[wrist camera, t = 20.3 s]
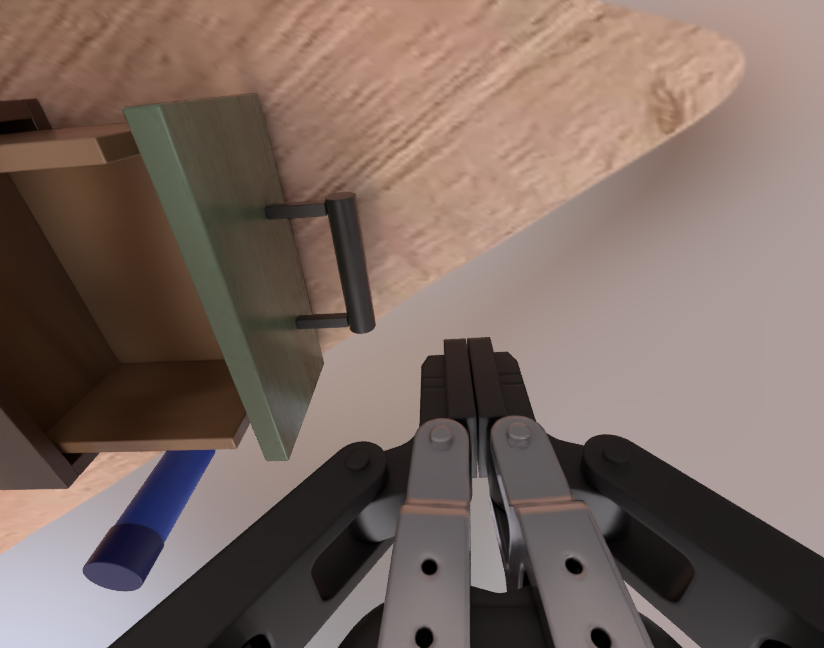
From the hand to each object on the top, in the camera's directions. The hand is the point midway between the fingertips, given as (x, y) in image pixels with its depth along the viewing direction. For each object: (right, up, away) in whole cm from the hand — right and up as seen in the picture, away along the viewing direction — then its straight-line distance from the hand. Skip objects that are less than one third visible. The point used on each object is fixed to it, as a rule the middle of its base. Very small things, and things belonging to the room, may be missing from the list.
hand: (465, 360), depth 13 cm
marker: (-19, -9, +19) cm, 28 cm away
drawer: (-13, +5, +9) cm, 17 cm away
